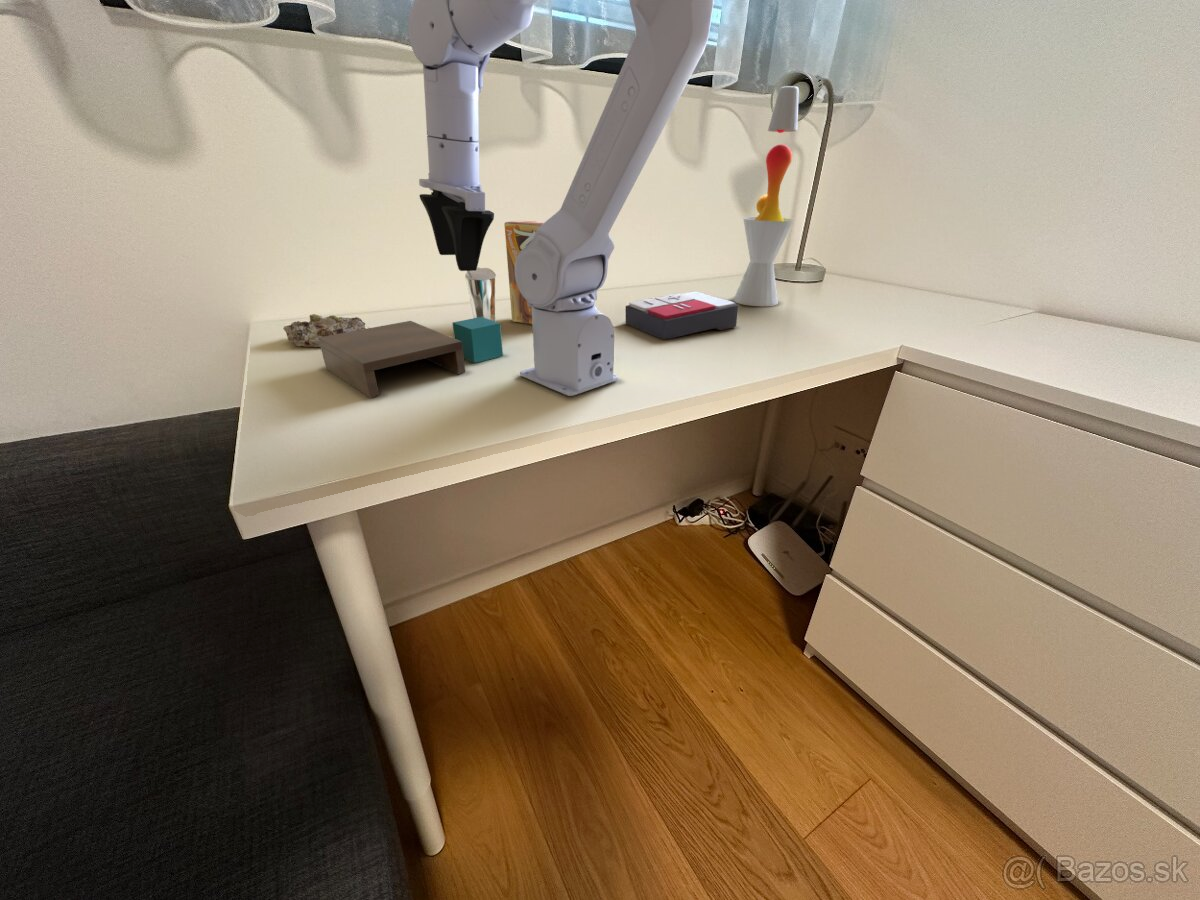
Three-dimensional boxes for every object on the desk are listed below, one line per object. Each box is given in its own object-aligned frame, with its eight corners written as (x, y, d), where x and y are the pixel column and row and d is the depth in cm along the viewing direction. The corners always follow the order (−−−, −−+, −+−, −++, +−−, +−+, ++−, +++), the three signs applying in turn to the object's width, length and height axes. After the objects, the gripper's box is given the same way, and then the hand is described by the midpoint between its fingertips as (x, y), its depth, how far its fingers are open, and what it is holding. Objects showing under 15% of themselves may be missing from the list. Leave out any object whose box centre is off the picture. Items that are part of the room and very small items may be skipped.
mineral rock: (286, 336, 68) (277, 307, 72) (293, 364, 71) (283, 335, 75) (372, 328, 73) (358, 302, 78) (375, 354, 76) (361, 327, 81)
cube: (503, 356, 69) (500, 323, 67) (474, 363, 67) (471, 329, 64) (484, 348, 72) (481, 316, 70) (456, 355, 69) (452, 322, 67)
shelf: (465, 372, 63) (462, 341, 62) (370, 398, 56) (363, 363, 54) (415, 349, 71) (410, 320, 70) (325, 368, 64) (317, 337, 62)
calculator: (624, 300, 83) (695, 287, 90) (624, 326, 86) (694, 312, 92) (665, 315, 75) (740, 300, 82) (664, 344, 77) (737, 326, 84)
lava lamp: (788, 305, 98) (830, 84, 82) (745, 307, 97) (779, 81, 80) (764, 295, 106) (798, 91, 89) (724, 297, 104) (751, 89, 87)
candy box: (569, 322, 85) (567, 222, 78) (557, 328, 82) (554, 224, 74) (523, 316, 88) (517, 219, 81) (510, 322, 85) (503, 221, 77)
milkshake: (461, 330, 80) (453, 263, 75) (483, 322, 84) (477, 258, 79) (484, 334, 78) (477, 266, 73) (505, 326, 82) (500, 261, 78)
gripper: (400, 129, 61) (409, 248, 68) (437, 141, 51) (444, 279, 59) (458, 135, 65) (461, 248, 72) (503, 148, 55) (501, 276, 62)
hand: (457, 262), depth 65 cm, fingers open, 7 cm apart
